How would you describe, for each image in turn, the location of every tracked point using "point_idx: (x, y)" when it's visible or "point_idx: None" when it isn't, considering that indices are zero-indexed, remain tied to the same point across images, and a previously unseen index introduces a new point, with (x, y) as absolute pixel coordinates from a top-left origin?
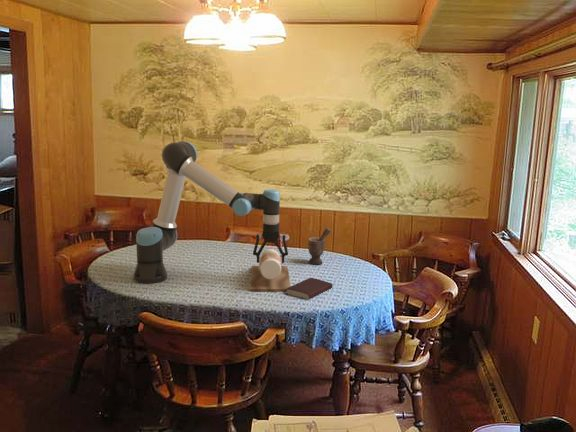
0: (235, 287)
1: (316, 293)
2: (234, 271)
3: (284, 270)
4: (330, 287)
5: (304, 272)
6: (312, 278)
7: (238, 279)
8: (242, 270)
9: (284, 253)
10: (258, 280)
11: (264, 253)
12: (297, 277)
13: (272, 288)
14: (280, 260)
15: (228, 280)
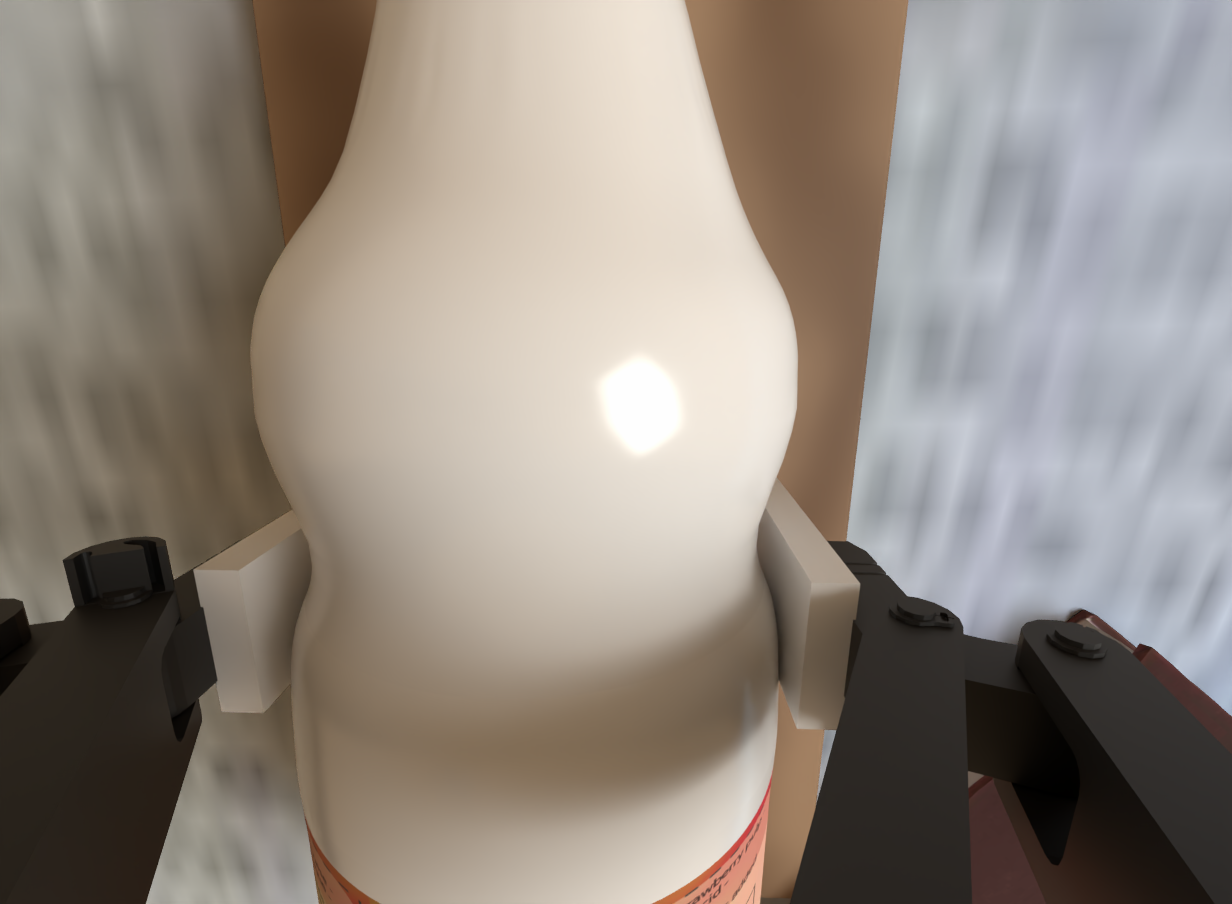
0: (210, 747)
1: None
2: (22, 97)
3: (829, 139)
4: None
5: (1161, 110)
6: (1171, 688)
7: (177, 483)
8: (131, 29)
9: (972, 771)
10: None
11: (315, 548)
12: (978, 384)
13: None
14: (779, 665)
15: (66, 523)
